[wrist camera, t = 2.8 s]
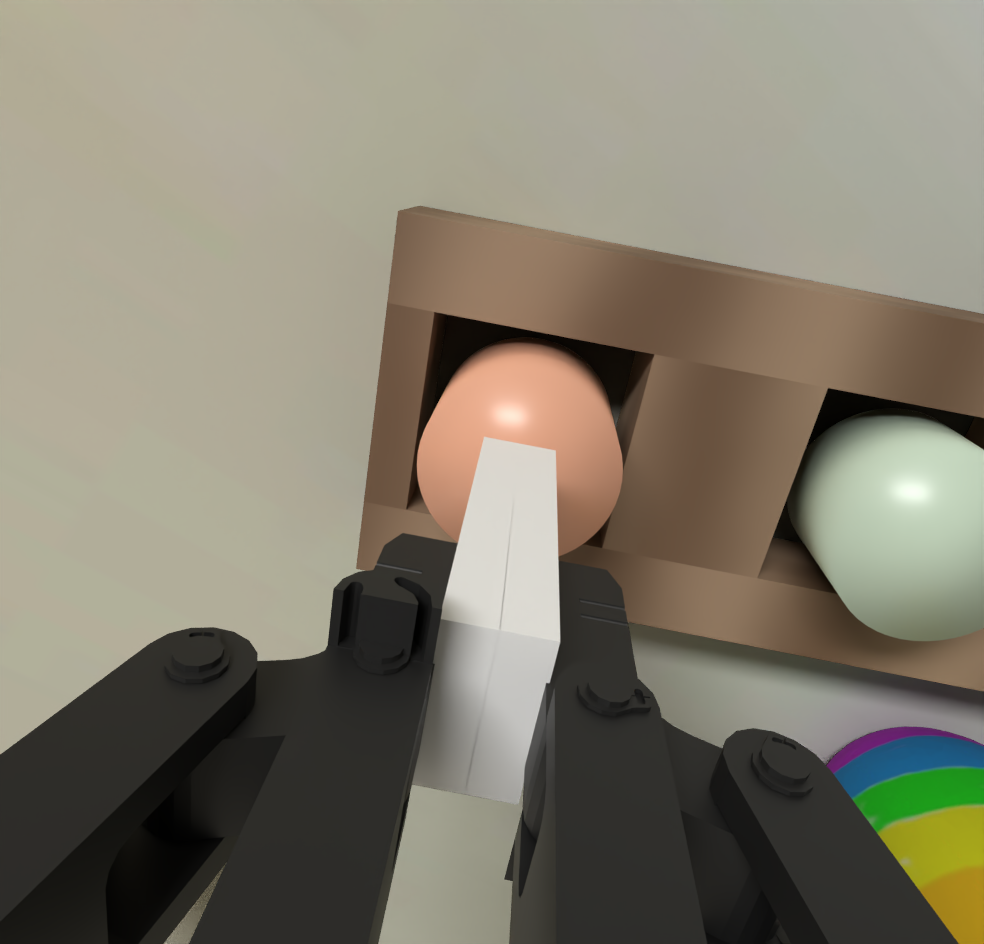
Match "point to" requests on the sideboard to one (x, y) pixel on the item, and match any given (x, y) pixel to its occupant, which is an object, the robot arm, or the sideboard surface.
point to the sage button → (896, 522)
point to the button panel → (680, 418)
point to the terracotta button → (524, 432)
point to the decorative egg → (926, 814)
